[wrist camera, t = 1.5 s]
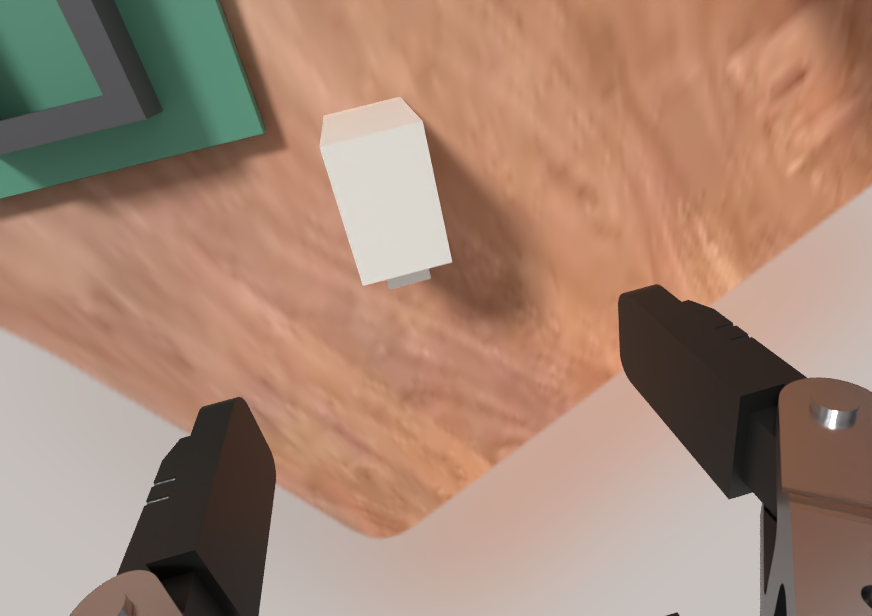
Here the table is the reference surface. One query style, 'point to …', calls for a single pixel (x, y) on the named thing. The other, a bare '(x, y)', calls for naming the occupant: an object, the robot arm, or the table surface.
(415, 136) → the plug
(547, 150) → the table surface
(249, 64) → the table surface
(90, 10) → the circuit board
